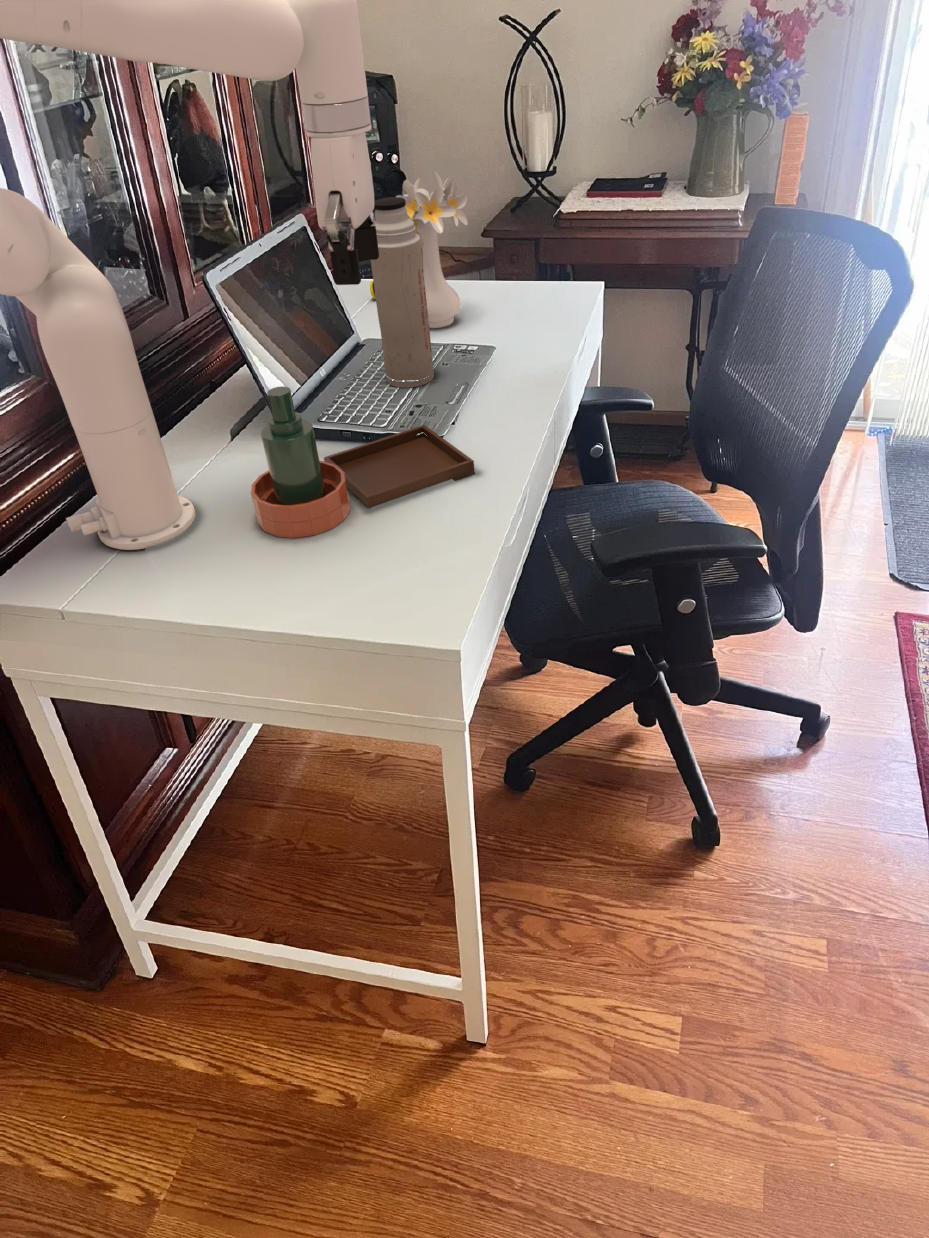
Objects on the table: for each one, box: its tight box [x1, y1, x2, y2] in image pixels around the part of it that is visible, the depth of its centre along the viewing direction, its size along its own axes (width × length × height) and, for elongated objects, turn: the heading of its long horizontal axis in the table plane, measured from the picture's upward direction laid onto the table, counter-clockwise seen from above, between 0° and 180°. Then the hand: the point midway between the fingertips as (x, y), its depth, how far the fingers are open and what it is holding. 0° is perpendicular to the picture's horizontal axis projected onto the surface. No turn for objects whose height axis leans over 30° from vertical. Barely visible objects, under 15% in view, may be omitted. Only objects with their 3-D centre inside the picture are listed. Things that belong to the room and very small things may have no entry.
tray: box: [323, 424, 476, 509], centre depth 130 cm, size 16×14×2 cm
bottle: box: [260, 385, 326, 505], centre depth 118 cm, size 6×6×17 cm
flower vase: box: [395, 171, 469, 329], centre depth 168 cm, size 13×18×25 cm
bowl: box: [250, 460, 351, 539], centre depth 122 cm, size 12×12×5 cm
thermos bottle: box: [370, 196, 435, 389], centre depth 148 cm, size 8×8×28 cm
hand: (357, 271), depth 117 cm, fingers open, 9 cm apart
